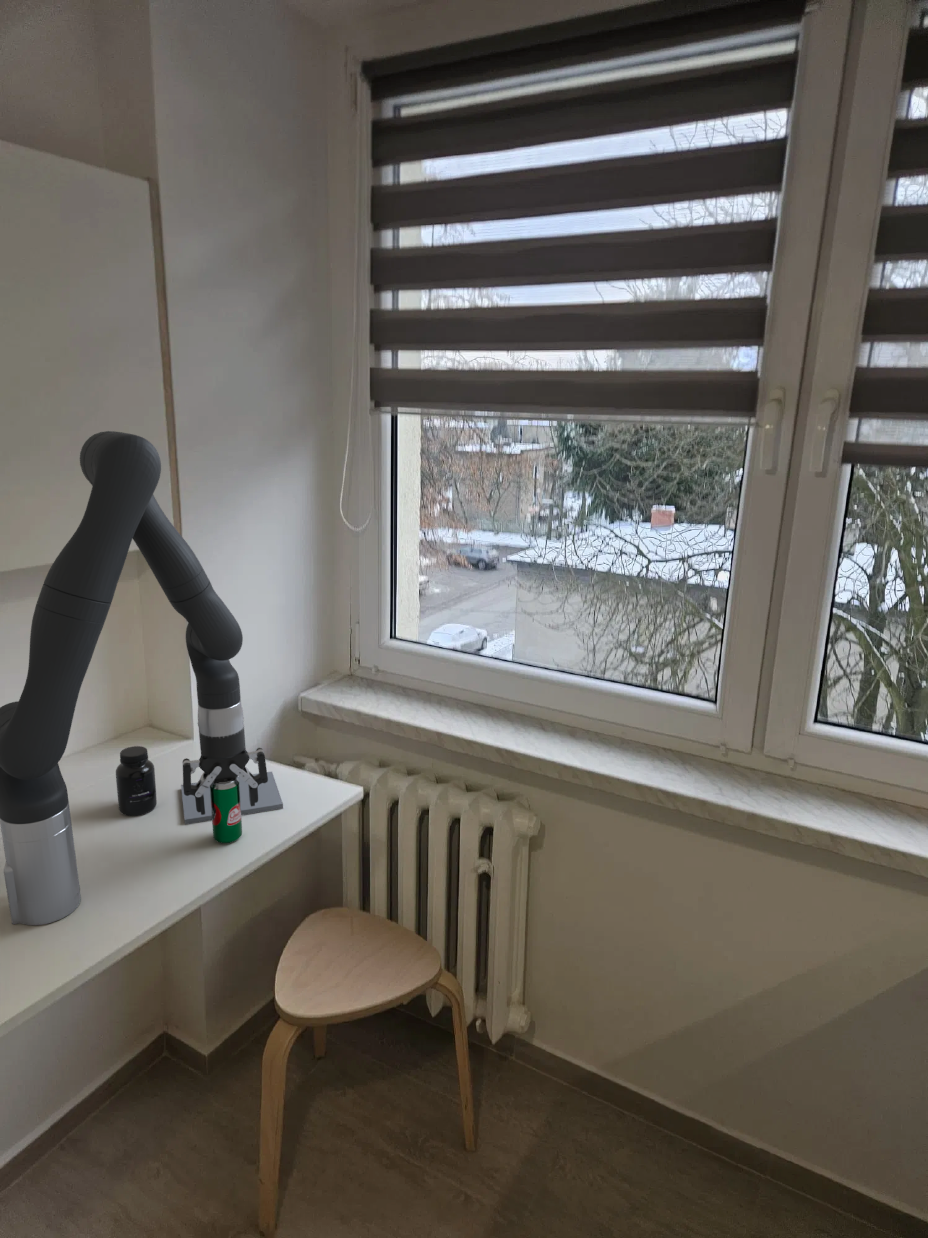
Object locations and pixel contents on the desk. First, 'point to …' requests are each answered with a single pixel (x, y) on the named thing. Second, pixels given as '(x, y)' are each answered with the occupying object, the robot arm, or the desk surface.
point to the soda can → (226, 810)
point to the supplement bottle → (135, 782)
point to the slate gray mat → (266, 800)
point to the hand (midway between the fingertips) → (228, 808)
